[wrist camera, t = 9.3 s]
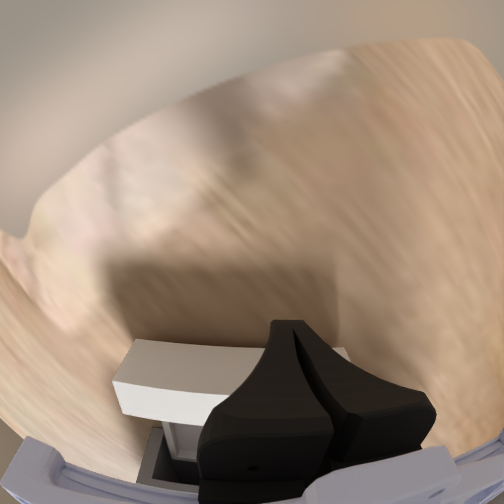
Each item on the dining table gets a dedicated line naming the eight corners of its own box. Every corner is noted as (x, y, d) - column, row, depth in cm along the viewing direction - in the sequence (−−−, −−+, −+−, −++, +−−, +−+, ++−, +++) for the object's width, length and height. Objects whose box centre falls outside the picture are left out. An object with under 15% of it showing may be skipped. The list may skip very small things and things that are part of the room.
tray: (343, 346, 19) (364, 391, 14) (310, 452, 23) (317, 490, 18) (136, 337, 18) (111, 380, 14) (162, 446, 22) (153, 483, 18)
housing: (321, 433, 23) (335, 490, 16) (296, 496, 27) (300, 536, 21) (152, 426, 22) (135, 482, 16) (175, 491, 27) (168, 531, 21)
